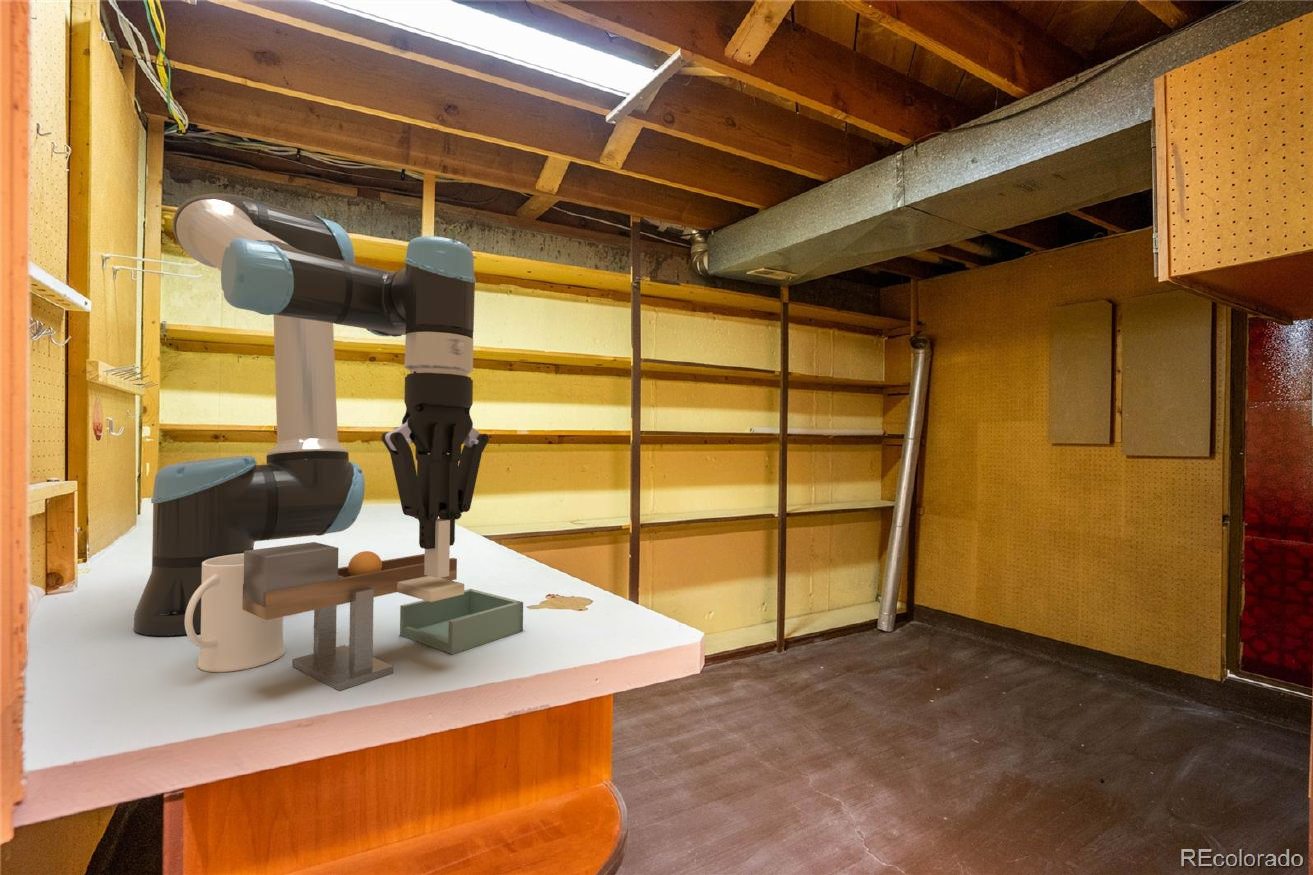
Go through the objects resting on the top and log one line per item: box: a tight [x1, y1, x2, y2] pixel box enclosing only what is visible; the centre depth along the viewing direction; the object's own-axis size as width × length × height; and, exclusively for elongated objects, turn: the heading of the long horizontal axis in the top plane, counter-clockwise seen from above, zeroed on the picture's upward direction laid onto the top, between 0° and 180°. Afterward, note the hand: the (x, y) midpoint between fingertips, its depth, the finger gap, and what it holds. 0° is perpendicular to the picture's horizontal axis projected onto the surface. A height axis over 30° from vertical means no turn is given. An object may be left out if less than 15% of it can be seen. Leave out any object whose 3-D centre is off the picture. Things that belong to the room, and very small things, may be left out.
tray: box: [399, 588, 524, 655], centre depth 80 cm, size 12×11×4 cm
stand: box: [291, 587, 394, 692], centre depth 67 cm, size 11×6×10 cm, turn 54°
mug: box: [185, 553, 286, 673], centre depth 69 cm, size 12×8×12 cm
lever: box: [242, 541, 465, 620], centre depth 67 cm, size 13×22×6 cm, turn 144°
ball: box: [347, 550, 382, 576], centre depth 69 cm, size 4×4×4 cm
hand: (436, 575), depth 69 cm, fingers closed
